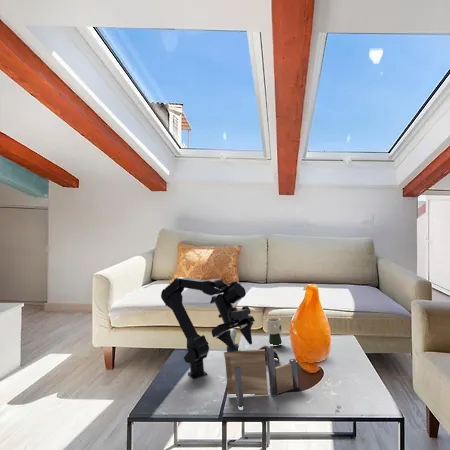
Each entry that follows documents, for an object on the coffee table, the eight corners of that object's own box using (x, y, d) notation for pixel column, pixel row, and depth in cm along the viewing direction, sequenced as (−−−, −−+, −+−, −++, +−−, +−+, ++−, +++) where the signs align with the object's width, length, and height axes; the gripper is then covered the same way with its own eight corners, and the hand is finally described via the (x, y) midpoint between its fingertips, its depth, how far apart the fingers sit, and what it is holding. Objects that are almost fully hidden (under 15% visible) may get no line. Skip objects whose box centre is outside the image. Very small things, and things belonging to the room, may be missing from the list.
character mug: (284, 349, 181) (282, 321, 181) (269, 350, 181) (267, 323, 181) (281, 341, 192) (279, 316, 192) (267, 343, 192) (265, 317, 192)
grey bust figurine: (239, 348, 188) (237, 326, 188) (238, 354, 180) (236, 330, 180) (227, 349, 188) (225, 327, 188) (226, 355, 180) (224, 331, 180)
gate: (228, 396, 136) (224, 352, 136) (268, 393, 135) (264, 349, 135) (227, 398, 134) (224, 353, 134) (268, 395, 134) (265, 350, 134)
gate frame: (233, 406, 129) (229, 356, 129) (295, 385, 141) (291, 339, 141) (240, 411, 125) (235, 359, 125) (303, 389, 137) (299, 342, 137)
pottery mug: (284, 366, 162) (275, 352, 159) (264, 377, 162) (255, 363, 160) (276, 350, 173) (267, 336, 171) (258, 361, 173) (249, 347, 171)
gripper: (220, 304, 137) (239, 345, 131) (254, 295, 150) (272, 333, 144) (203, 317, 143) (220, 357, 137) (237, 307, 157) (254, 344, 151)
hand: (243, 347), depth 142 cm, fingers open, 9 cm apart
